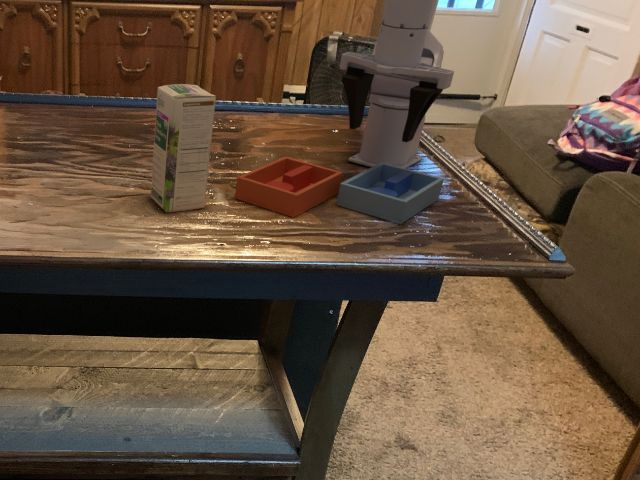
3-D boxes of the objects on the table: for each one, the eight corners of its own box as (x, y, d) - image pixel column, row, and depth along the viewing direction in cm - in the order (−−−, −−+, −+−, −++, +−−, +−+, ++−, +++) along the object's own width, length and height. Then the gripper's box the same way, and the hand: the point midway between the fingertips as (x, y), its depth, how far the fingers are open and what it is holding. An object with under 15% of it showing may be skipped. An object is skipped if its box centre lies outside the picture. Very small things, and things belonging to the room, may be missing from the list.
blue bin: (376, 182, 109) (381, 161, 108) (438, 199, 105) (444, 178, 103) (336, 204, 102) (340, 183, 100) (400, 224, 97) (406, 202, 95)
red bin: (282, 176, 110) (285, 156, 108) (339, 193, 105) (343, 172, 104) (234, 198, 103) (237, 177, 101) (293, 217, 98) (297, 195, 96)
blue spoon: (387, 211, 99) (391, 192, 98) (360, 203, 101) (364, 184, 100) (416, 193, 105) (421, 175, 103) (391, 186, 107) (395, 168, 105)
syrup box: (148, 197, 102) (154, 85, 93) (188, 193, 104) (197, 82, 95) (165, 213, 97) (172, 96, 89) (207, 208, 99) (217, 93, 91)
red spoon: (282, 205, 100) (285, 186, 98) (257, 197, 102) (260, 178, 100) (317, 187, 106) (320, 169, 104) (293, 180, 108) (296, 162, 106)
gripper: (337, 20, 96) (318, 128, 104) (448, 38, 89) (419, 153, 96) (362, 13, 101) (342, 118, 108) (470, 30, 93) (441, 141, 101)
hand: (380, 133), depth 103 cm, fingers open, 7 cm apart
